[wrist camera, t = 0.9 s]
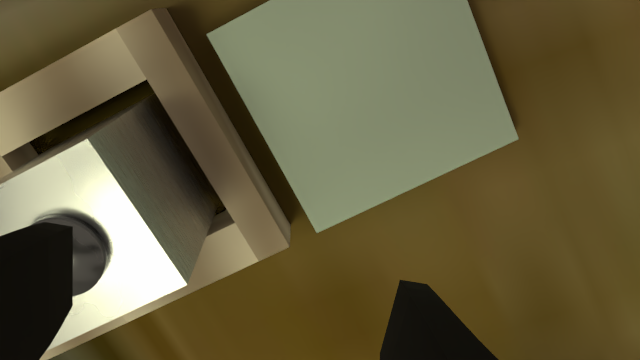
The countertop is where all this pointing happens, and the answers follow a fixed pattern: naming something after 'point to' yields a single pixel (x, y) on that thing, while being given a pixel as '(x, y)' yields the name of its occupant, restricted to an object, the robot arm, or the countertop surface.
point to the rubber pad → (364, 95)
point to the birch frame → (189, 118)
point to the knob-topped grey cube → (117, 211)
